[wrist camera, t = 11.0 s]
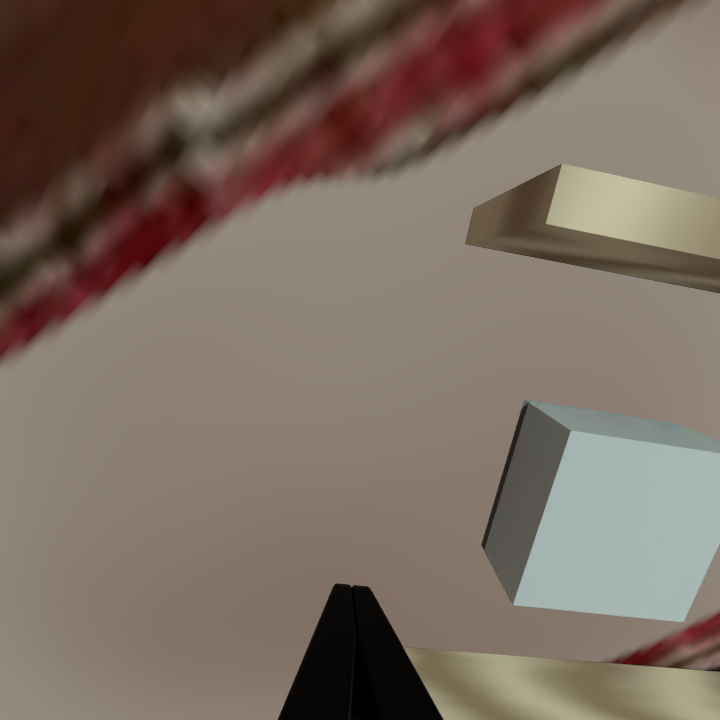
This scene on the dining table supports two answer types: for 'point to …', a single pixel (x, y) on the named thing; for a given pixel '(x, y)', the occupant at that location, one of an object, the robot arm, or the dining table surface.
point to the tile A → (605, 513)
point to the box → (623, 256)
